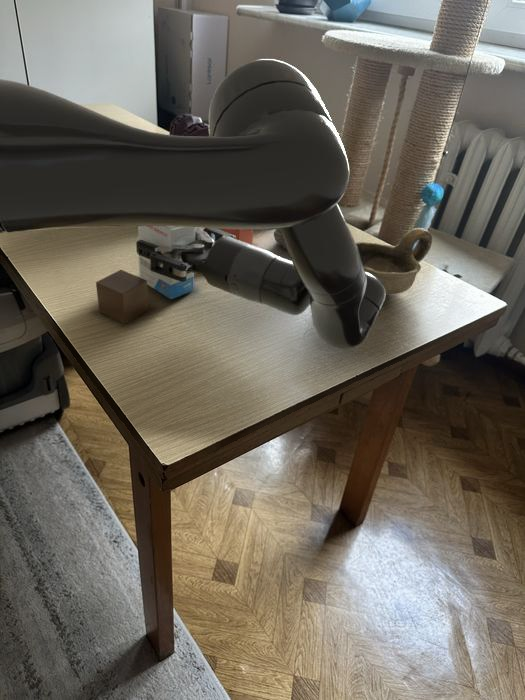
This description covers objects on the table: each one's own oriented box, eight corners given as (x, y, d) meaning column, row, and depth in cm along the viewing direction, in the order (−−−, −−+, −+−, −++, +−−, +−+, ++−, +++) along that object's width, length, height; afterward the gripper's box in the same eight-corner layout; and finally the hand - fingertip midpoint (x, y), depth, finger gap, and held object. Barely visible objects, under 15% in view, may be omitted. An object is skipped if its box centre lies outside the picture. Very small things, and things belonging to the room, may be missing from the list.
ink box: (195, 291, 81) (197, 221, 74) (171, 300, 78) (170, 229, 71) (162, 270, 85) (161, 203, 78) (138, 279, 82) (134, 209, 75)
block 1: (124, 324, 72) (122, 293, 69) (98, 312, 74) (95, 282, 71) (148, 309, 75) (147, 280, 72) (123, 298, 77) (120, 269, 74)
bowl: (318, 274, 90) (328, 221, 84) (394, 262, 97) (408, 213, 92) (362, 313, 81) (377, 257, 75) (443, 297, 88) (462, 245, 82)
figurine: (148, 184, 118) (145, 107, 108) (201, 179, 125) (203, 106, 115) (183, 216, 105) (183, 132, 95) (240, 209, 112) (246, 129, 102)
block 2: (237, 254, 93) (239, 228, 91) (215, 246, 95) (217, 220, 92) (251, 245, 97) (254, 220, 94) (230, 237, 99) (231, 213, 96)
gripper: (272, 231, 75) (185, 202, 81) (218, 264, 65) (122, 228, 70) (266, 275, 79) (184, 245, 85) (215, 313, 69) (125, 275, 75)
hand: (156, 237), depth 78 cm, fingers open, 8 cm apart
